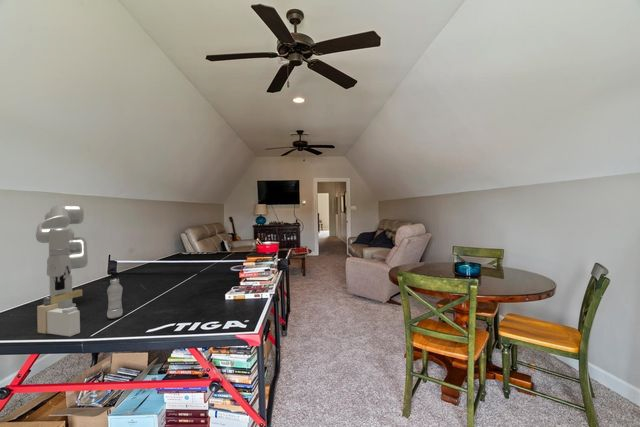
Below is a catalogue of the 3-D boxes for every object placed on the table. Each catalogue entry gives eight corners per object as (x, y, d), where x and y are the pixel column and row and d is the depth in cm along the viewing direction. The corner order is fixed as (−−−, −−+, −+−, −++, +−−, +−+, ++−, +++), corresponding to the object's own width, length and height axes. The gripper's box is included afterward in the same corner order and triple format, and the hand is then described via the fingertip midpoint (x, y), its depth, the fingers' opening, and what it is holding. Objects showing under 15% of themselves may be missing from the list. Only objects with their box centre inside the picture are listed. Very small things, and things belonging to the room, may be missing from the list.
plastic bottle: (112, 315, 147) (111, 278, 147) (125, 315, 147) (125, 277, 147) (103, 320, 140) (103, 280, 140) (118, 319, 141) (117, 280, 141)
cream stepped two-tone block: (37, 332, 127) (37, 306, 127) (50, 328, 132) (50, 302, 132) (68, 336, 122) (68, 309, 122) (81, 332, 126) (80, 305, 126)
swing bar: (46, 305, 127) (46, 298, 127) (42, 305, 128) (42, 298, 128) (82, 295, 142) (82, 289, 142) (78, 295, 142) (78, 289, 142)
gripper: (39, 253, 137) (40, 291, 137) (61, 254, 133) (62, 292, 133) (57, 251, 144) (58, 287, 144) (78, 252, 140) (79, 288, 140)
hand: (59, 289), depth 139 cm, fingers closed
